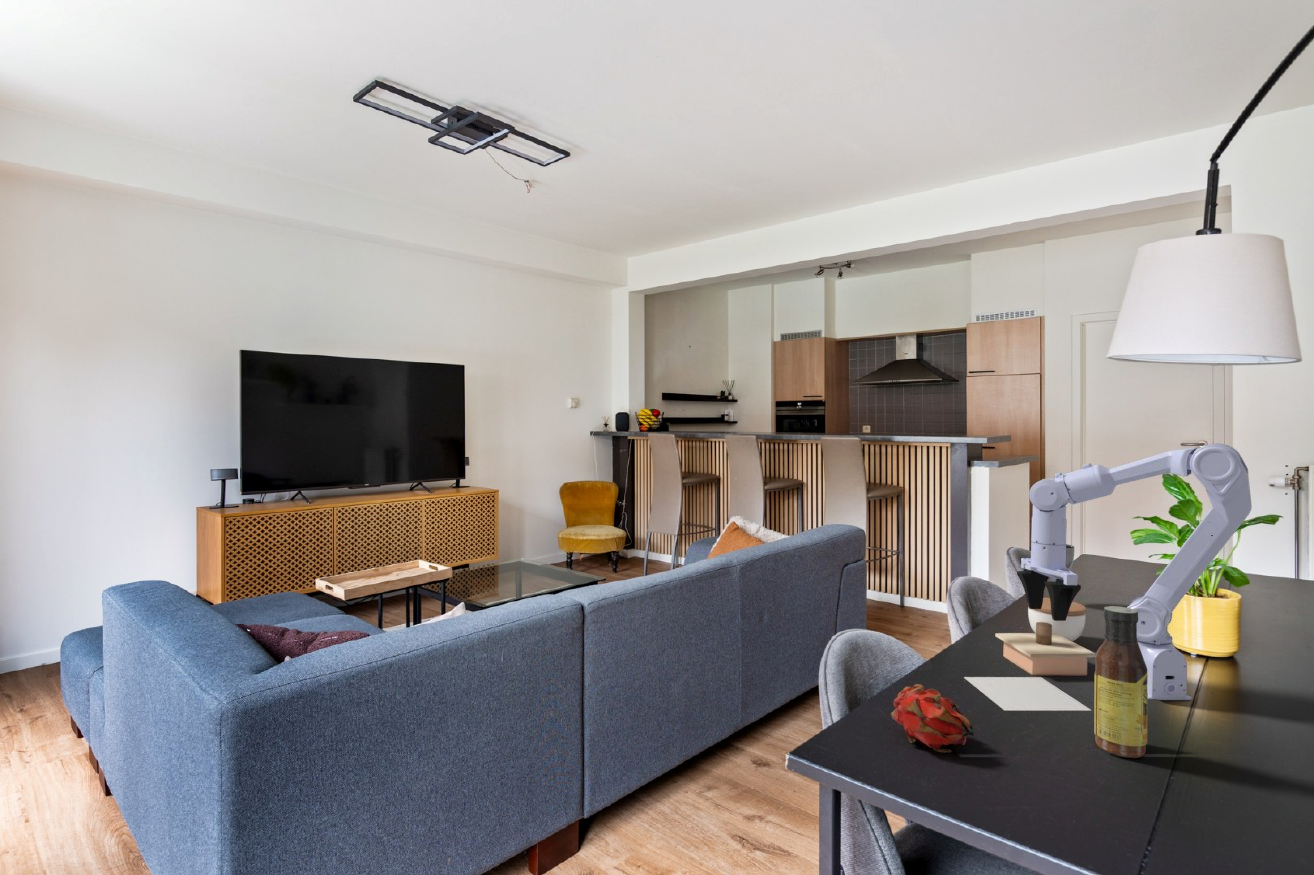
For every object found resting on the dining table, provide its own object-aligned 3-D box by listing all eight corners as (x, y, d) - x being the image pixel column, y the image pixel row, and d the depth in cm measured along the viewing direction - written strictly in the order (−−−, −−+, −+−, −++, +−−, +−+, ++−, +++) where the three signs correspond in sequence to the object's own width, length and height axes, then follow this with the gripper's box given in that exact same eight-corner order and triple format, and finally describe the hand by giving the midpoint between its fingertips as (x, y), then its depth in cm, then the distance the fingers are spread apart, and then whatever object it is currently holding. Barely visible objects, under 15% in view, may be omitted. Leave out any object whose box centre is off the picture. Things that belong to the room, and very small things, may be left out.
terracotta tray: (1086, 677, 125) (1087, 655, 125) (1032, 677, 125) (1032, 655, 124) (1053, 658, 135) (1054, 637, 135) (1003, 658, 135) (1003, 637, 134)
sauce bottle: (1155, 762, 94) (1160, 617, 93) (1104, 758, 95) (1108, 614, 94) (1132, 740, 100) (1136, 605, 100) (1085, 736, 101) (1088, 602, 101)
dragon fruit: (891, 734, 105) (966, 778, 96) (869, 716, 100) (946, 760, 91) (916, 685, 107) (992, 723, 98) (895, 664, 102) (974, 702, 93)
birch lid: (1096, 657, 124) (1096, 634, 124) (1030, 657, 123) (1031, 634, 123) (1055, 636, 136) (1055, 614, 136) (995, 636, 135) (995, 615, 135)
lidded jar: (1069, 633, 151) (1070, 590, 150) (1095, 649, 140) (1097, 604, 140) (1018, 631, 152) (1019, 589, 152) (1040, 647, 141) (1041, 602, 141)
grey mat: (1091, 712, 110) (1091, 710, 110) (1004, 712, 109) (1004, 710, 109) (1040, 679, 124) (1040, 677, 124) (963, 679, 123) (963, 677, 123)
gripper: (1006, 535, 137) (1005, 603, 137) (1050, 549, 122) (1049, 625, 123) (1041, 536, 137) (1039, 603, 137) (1089, 550, 122) (1087, 625, 123)
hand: (1046, 614), depth 130 cm, fingers open, 7 cm apart
